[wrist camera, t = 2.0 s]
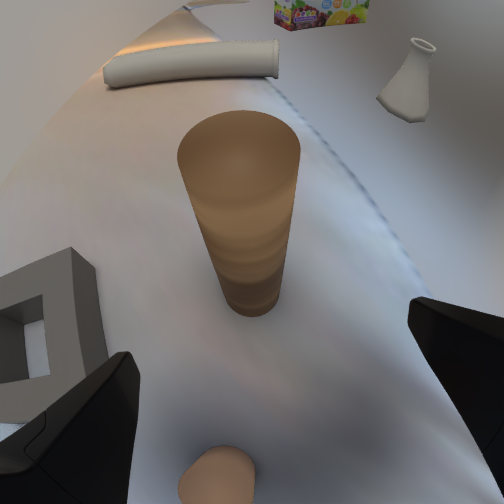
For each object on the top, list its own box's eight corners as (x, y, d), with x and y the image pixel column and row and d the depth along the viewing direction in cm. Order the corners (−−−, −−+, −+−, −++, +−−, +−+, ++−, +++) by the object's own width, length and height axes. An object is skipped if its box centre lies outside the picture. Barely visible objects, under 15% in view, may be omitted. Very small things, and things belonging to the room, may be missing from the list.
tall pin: (287, 305, 21) (322, 175, 9) (234, 324, 21) (190, 212, 8) (268, 258, 23) (273, 101, 10) (217, 274, 23) (168, 128, 10)
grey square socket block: (121, 411, 18) (94, 413, 14) (17, 423, 17) (-13, 422, 13) (94, 267, 23) (71, 246, 19) (3, 302, 22) (-23, 288, 18)
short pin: (263, 487, 16) (263, 513, 11) (208, 500, 15) (193, 527, 11) (244, 439, 17) (238, 454, 13) (188, 452, 17) (167, 469, 12)
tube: (92, 78, 31) (278, 59, 30) (103, 52, 32) (278, 32, 30) (108, 97, 37) (278, 85, 35) (117, 72, 37) (278, 58, 36)
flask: (435, 116, 31) (460, 57, 22) (410, 131, 30) (437, 63, 21) (395, 86, 34) (412, 28, 25) (365, 98, 32) (382, 31, 23)
